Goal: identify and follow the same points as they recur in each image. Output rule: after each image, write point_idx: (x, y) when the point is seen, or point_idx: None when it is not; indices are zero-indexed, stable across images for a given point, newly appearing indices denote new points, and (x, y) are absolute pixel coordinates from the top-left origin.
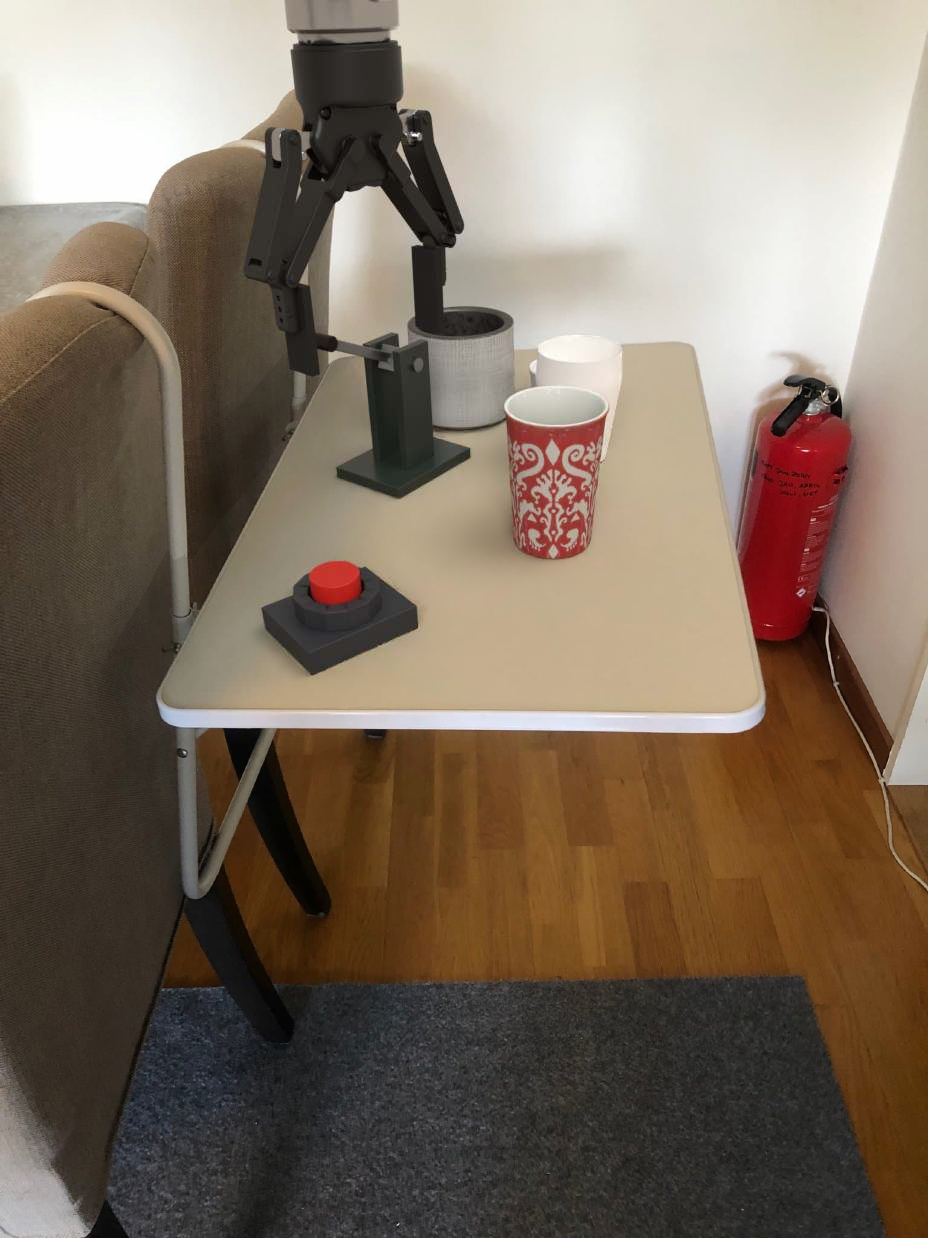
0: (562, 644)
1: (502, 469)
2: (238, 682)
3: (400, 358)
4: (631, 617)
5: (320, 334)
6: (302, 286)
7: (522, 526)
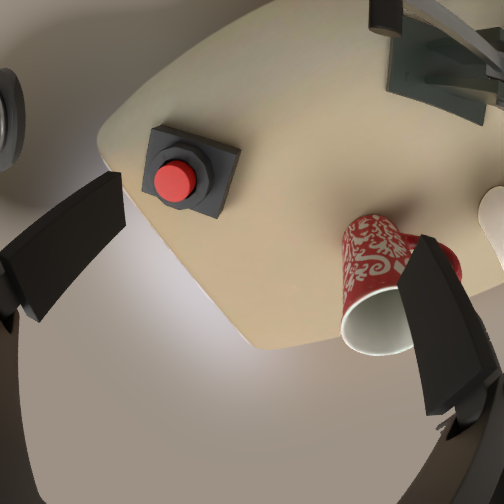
0: (257, 285)
1: (467, 160)
2: (122, 153)
3: (493, 93)
4: (300, 305)
5: (387, 2)
6: (28, 313)
7: (346, 242)
